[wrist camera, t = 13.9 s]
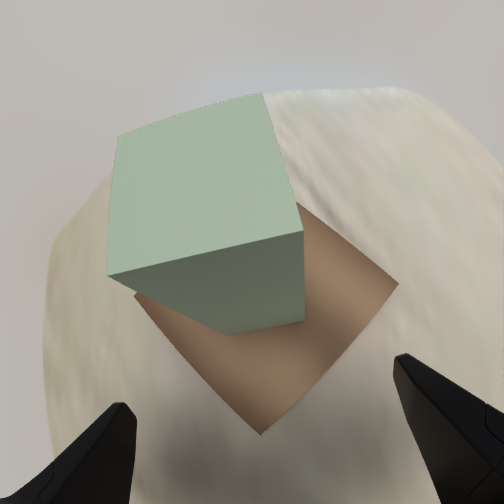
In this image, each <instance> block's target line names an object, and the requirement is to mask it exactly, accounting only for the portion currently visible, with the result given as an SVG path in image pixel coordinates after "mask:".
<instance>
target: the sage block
mask: <svg viewBox="0 0 504 504" xmlns="http://www.w3.org/2000/svg"><path fill="white" fill-rule="evenodd" d="M107 276H109V277H110V278H112V279H114V280H116V281H118V282H120V283H121V284H123V285H125V286H127V287H129V288H131V289H133V290H135V291H136V292H138V293H140V294H142V295H144V296H146V297H148V298H150V299H152V300H154V301H156V302H158V303H160V304H162V305H164V306H166V307H168V308H170V309H172V310H174V311H176V312H178V313H180V314H182V315H185V316H187V317H189V318H191V319H193V320H195V321H197V322H199V323H202V324H204V325H206V326H208V327H210V328H212V329H215V330H217V331H219V332H221V333H224V334H226V335H228V336H229V335H234V334H240V333H245V332H251V331H256V330H261V329H266V328H271V327H276V326H280V325H285V324H290V323H294V322H299V321H303V320H305V278H304V230H303V226H302V223H301V219H300V215H299V212H298V208H297V205H296V201H295V198H294V194H293V191H292V187H291V184H290V180H289V177H288V174H287V170H286V167H285V164H284V160H283V157H282V154H281V151H280V147H279V144H278V141H277V138H276V135H275V132H274V129H273V125H272V122H271V119H270V116H269V113H268V110H267V107H266V104H265V101H264V98H263V95H262V93H257V94H252V95H248V96H244V97H239V98H235V99H231V100H227V101H223V102H220V103H216V104H212V105H209V106H205V107H202V108H198V109H195V110H191V111H188V112H185V113H182V114H179V115H175V116H172V117H170V118H166V119H163V120H161V121H157V122H155V123H152V124H149V125H146V126H143V127H141V128H138V129H135V130H133V131H130V132H128V133H125V134H123V135H120V136H118V138H117V145H116V152H115V159H114V167H113V176H112V186H111V197H110V210H109V226H108V253H107Z"/></svg>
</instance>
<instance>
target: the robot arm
mask: <svg viewBox="0 0 504 504" xmlns="http://www.w3.org/2000/svg"><path fill="white" fill-rule="evenodd" d="M393 378H394V382H395V385H396V388H397V391H398V394H399V397H400V401H401V404H402V407H403V410H404V413H405V417H406V419H407V422H408V424H409V427H410V429H411V431H412V433H413V436H414V438H415V440H416V443H417V445H418V447H419V450H420V452H421V454H422V457H423V459H424V461H425V464H426V466H427V469H428V471H429V474H430V476H431V479H432V481H433V484H434V486H435V489H436V491H437V494H438V497H439V499H440V502H441V504H504V413H502V412H500V411H499V410H497V409H495V408H494V407H492V406H491V405H489V404H486V403H485V402H484V401H482V400H481V399H479V398H478V397H476V396H474V395H473V394H471V393H470V392H468V391H467V390H465V389H463V388H462V387H460V386H459V385H457V384H455V383H454V382H452V381H451V380H449V379H448V378H446V377H444V376H443V375H441V374H440V373H438V372H436V371H435V370H433V369H432V368H430V367H429V366H427V365H425V364H424V363H422V362H421V361H419V360H417V359H416V358H414V357H413V356H411V355H410V354H407V353H404V354H401V355H398V356H396V357H395V359H394V369H393ZM136 432H137V419H136V416H135V415H134V413H133V412H132V411H131V409H130V408H129V407H128V405H127V404H126V403H124V402H115V403H113V404H112V405H111V406H110V407H109V408H108V409H107V410H106V411H105V412H104V413H103V414H102V415H101V416H100V417H99V418H98V419H97V420H95V421H94V422H93V423H92V424H91V425H90V426H89V427H88V428H87V429H86V430H85V431H84V432H83V433H82V434H81V435H80V436H79V437H78V438H77V439H76V440H75V441H74V442H73V443H72V444H70V445H69V446H68V447H67V448H66V449H65V450H64V451H63V452H62V453H61V454H60V455H59V456H58V457H57V458H56V459H55V460H54V461H53V462H52V463H50V465H48V466H47V467H46V468H45V469H44V470H43V471H42V472H41V473H40V474H39V475H37V476H36V477H35V478H33V479H32V480H31V481H30V482H28V483H27V484H26V485H24V486H23V487H22V488H20V489H19V490H18V491H17V492H15V493H14V494H12V495H11V496H9V497H6V498H1V499H0V504H129V499H130V491H131V483H132V476H133V469H134V462H135V452H136Z"/></svg>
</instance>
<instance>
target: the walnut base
mask: <svg viewBox="0 0 504 504" xmlns="http://www.w3.org/2000/svg"><path fill="white" fill-rule="evenodd" d="M296 205H297V208H298V212H299V215H300V219H301V223H302V226H303V230H304V278H305V320H303V321H299V322H294V323H290V324H285V325H280V326H276V327H271V328H266V329H261V330H256V331H251V332H245V333H240V334H234V335H229V336H228V335H226V334H224V333H221V332H219V331H217V330H215V329H212V328H210V327H208V326H206V325H204V324H202V323H199V322H197V321H195V320H193V319H191V318H189V317H187V316H185V315H182V314H180V313H178V312H176V311H174V310H172V309H170V308H168V307H166V306H164V305H162V304H160V303H158V302H156V301H154V300H152V299H150V298H148V297H146V296H144V295H142V294H140V293H138V292H137V293H136V294H135V295H134V297H135V298H136V300H137V301H138V302H139V304H140V305H141V306H142V307H143V309H144V310H145V311H146V312H147V314H148V315H149V316H150V317H151V319H152V320H153V321H154V322H155V324H156V325H157V326H158V327H159V329H160V330H161V331H162V332H163V333H164V335H165V336H166V337H167V338H168V339H169V341H170V342H171V343H172V344H173V345H174V346H175V348H176V349H177V350H178V351H179V352H180V353H181V354H182V356H183V357H184V358H185V359H186V360H187V361H188V362H189V364H190V365H191V366H192V367H193V368H194V369H195V370H196V371H197V372H198V373H199V375H200V376H201V377H202V378H203V379H204V380H205V381H206V382H207V383H208V384H209V385H210V386H211V387H212V388H213V389H214V390H215V392H216V393H217V394H218V395H219V396H220V397H221V398H222V399H223V400H224V401H225V402H226V403H227V404H228V405H229V406H230V407H231V408H232V409H233V410H234V411H235V412H236V413H237V414H238V415H239V416H240V417H241V418H242V419H243V420H245V421H246V422H247V423H248V424H249V425H250V426H251V427H252V428H253V429H254V430H255V431H256V432H257V433H258V434H259V435H261V434H262V433H263V432H264V431H266V430H267V429H268V428H269V427H270V426H271V425H272V424H273V423H274V422H275V421H277V420H278V419H279V418H280V417H281V416H282V415H283V414H284V413H285V412H286V411H287V410H288V409H289V408H290V407H291V406H292V405H293V404H295V403H296V402H297V401H298V400H299V399H300V398H301V397H302V396H303V395H304V394H305V393H306V392H307V391H308V390H309V389H310V388H311V387H312V386H313V385H314V383H315V382H316V381H317V380H318V379H319V378H320V377H321V376H322V375H323V374H324V373H325V372H326V371H327V370H328V369H329V368H330V367H331V365H332V364H333V363H334V362H335V361H336V360H337V359H338V358H339V357H340V356H341V354H342V353H343V352H344V351H345V350H346V349H347V348H348V347H349V345H350V344H351V343H352V342H353V341H354V340H355V338H356V337H357V336H358V335H359V334H360V333H361V331H362V330H363V329H364V328H365V327H366V325H367V324H368V323H369V322H370V320H371V319H372V318H373V317H374V316H375V314H376V313H377V312H378V311H379V309H380V308H381V307H382V305H383V304H384V303H385V302H386V300H387V299H388V298H389V296H390V295H391V294H392V292H393V291H394V290H395V288H396V287H397V286H398V284H399V283H398V282H397V281H395V280H394V279H393V278H392V277H391V276H389V275H388V274H387V273H386V272H385V271H384V270H382V269H381V268H380V267H379V266H378V265H376V264H375V263H374V262H373V261H371V260H370V259H369V258H368V257H367V256H365V255H364V254H363V253H362V252H360V251H359V250H358V249H357V248H355V247H354V246H353V245H352V244H350V243H349V242H348V241H347V240H345V239H344V238H343V237H342V236H340V235H339V234H338V233H337V232H335V231H334V230H333V229H331V228H330V227H329V226H328V225H326V224H325V223H324V222H322V221H321V220H320V219H318V218H317V217H316V216H315V215H313V214H312V213H311V212H309V211H308V210H307V209H305V208H304V207H303V206H301V205H300V204H299V203H297V202H296Z"/></svg>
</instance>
